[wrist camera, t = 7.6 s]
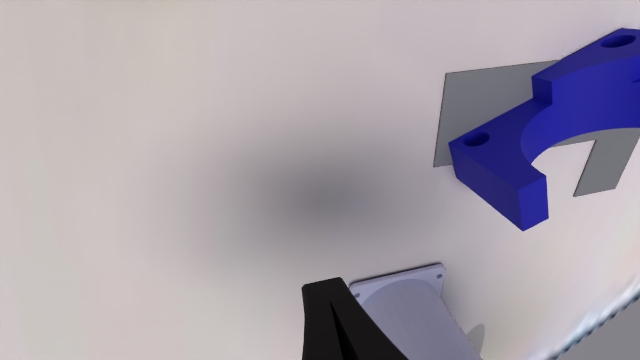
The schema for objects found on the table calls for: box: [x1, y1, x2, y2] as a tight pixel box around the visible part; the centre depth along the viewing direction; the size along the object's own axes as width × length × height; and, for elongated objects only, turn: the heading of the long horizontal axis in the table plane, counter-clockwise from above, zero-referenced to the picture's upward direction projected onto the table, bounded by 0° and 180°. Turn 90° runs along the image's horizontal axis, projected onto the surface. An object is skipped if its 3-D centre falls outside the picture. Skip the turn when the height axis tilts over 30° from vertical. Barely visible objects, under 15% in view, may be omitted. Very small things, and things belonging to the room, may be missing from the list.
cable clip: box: [448, 28, 640, 231], centre depth 18 cm, size 12×4×6 cm, turn 116°
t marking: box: [433, 60, 640, 197], centre depth 21 cm, size 16×17×1 cm
